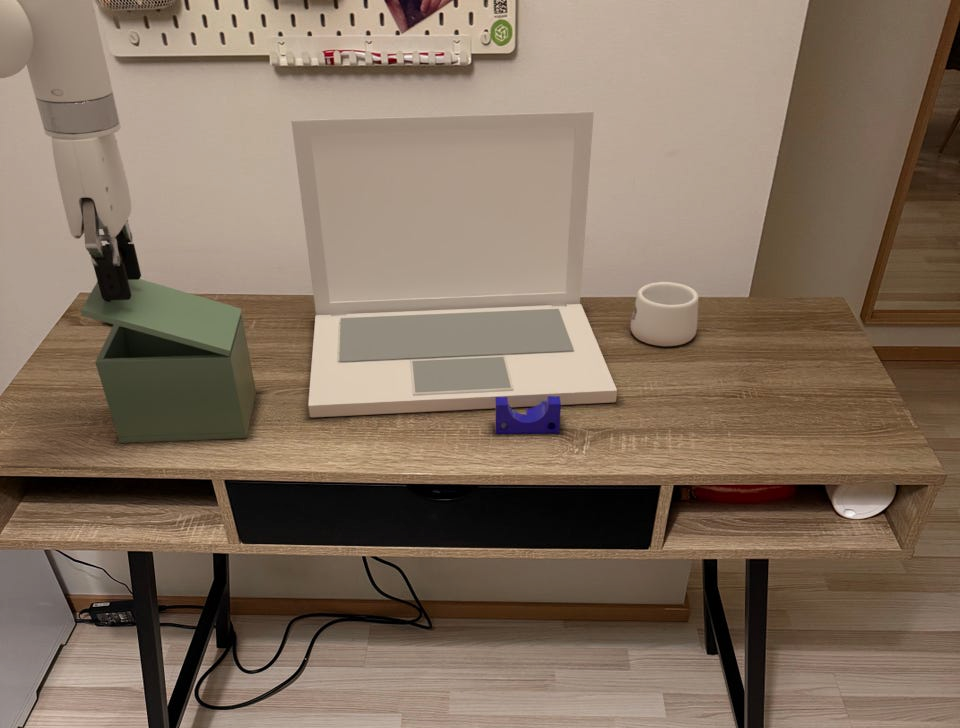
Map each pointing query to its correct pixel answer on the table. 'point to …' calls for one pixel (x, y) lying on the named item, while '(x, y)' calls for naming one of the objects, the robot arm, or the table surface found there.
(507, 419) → the cable holder
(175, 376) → the bin
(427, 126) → the laptop
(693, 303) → the mug
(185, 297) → the bin lid
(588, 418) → the table surface
